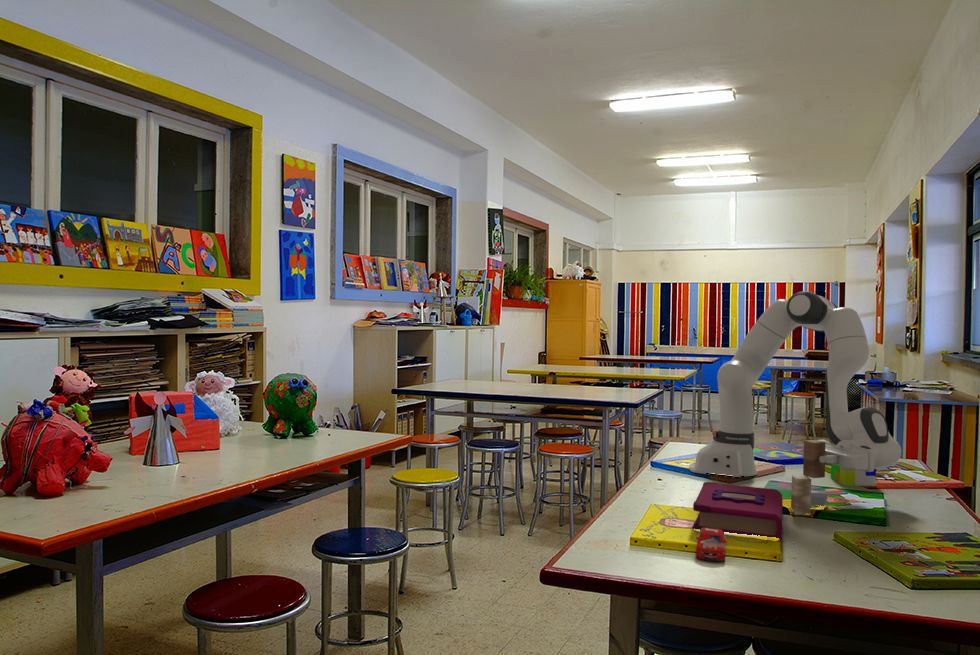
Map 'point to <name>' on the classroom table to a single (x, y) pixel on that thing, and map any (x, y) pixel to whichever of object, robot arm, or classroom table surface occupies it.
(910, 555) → the classroom table surface
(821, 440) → the grey rounded lump
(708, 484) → the book
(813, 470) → the walnut block
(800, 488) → the maple block
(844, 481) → the puzzle toy
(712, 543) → the race car
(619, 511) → the classroom table surface
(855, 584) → the classroom table surface
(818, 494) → the slate block
